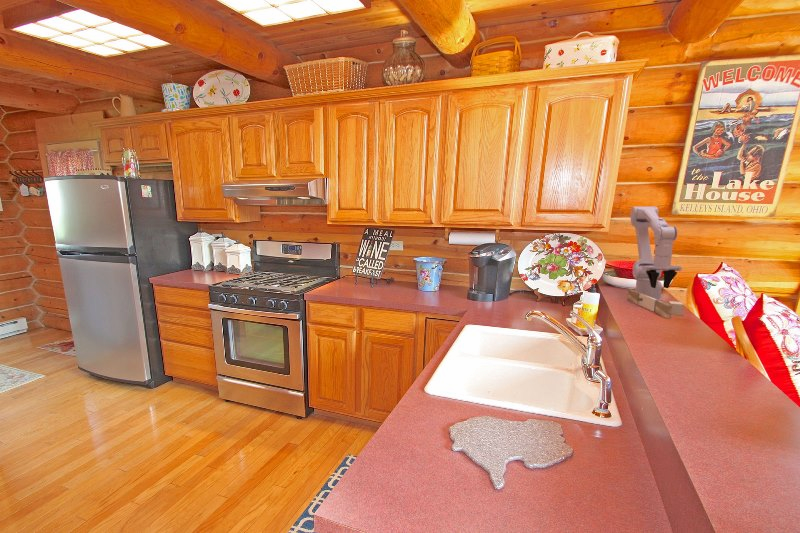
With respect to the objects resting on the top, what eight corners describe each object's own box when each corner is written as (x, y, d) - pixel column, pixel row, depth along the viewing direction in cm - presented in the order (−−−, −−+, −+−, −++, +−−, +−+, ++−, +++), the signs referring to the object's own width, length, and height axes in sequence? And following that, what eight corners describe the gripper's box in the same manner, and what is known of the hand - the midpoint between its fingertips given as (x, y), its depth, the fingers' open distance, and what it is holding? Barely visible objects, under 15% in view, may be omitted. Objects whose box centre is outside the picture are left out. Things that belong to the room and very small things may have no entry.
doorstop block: (667, 311, 143) (668, 301, 143) (679, 313, 142) (680, 302, 141) (669, 314, 140) (671, 303, 139) (682, 315, 138) (683, 304, 137)
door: (640, 304, 154) (641, 293, 153) (657, 312, 142) (659, 300, 141) (635, 304, 154) (637, 293, 153) (652, 312, 142) (653, 300, 141)
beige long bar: (630, 300, 162) (631, 289, 161) (670, 318, 134) (672, 305, 134) (627, 300, 162) (628, 289, 161) (666, 318, 134) (668, 305, 134)
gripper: (650, 256, 144) (646, 289, 146) (688, 257, 142) (684, 289, 144) (640, 254, 151) (637, 285, 153) (676, 254, 149) (673, 286, 151)
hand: (659, 287), depth 149 cm, fingers open, 4 cm apart
